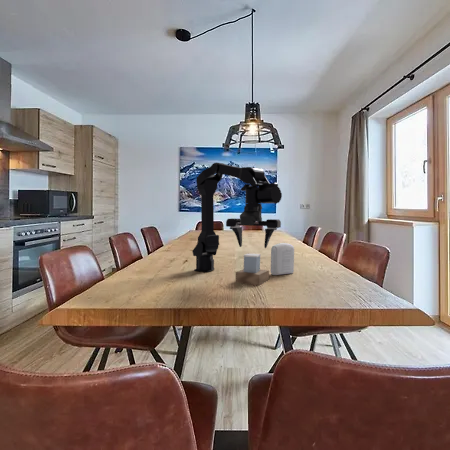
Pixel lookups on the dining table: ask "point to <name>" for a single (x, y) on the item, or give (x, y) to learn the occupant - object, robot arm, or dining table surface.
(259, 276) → the walnut block
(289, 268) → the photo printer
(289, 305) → the dining table surface
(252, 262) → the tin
